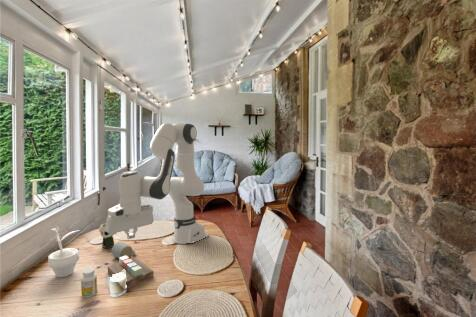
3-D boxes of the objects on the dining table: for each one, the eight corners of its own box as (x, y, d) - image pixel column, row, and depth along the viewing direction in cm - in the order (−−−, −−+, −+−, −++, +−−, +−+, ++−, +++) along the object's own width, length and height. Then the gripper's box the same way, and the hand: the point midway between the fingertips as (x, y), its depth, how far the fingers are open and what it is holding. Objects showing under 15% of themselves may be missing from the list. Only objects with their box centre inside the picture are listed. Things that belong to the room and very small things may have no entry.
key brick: (130, 264, 119) (130, 258, 119) (133, 267, 117) (133, 260, 117) (122, 267, 117) (122, 260, 117) (125, 270, 114) (125, 263, 114)
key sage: (138, 272, 113) (138, 265, 113) (142, 275, 111) (141, 268, 110) (131, 275, 111) (130, 268, 110) (134, 278, 108) (134, 270, 108)
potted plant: (46, 284, 108) (43, 227, 106) (51, 271, 118) (49, 219, 116) (81, 276, 113) (78, 222, 111) (83, 265, 124) (81, 215, 122)
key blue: (134, 268, 116) (134, 261, 116) (137, 271, 114) (137, 264, 113) (126, 271, 114) (126, 264, 113) (130, 274, 111) (129, 267, 111)
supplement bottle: (90, 288, 105) (90, 266, 104) (100, 291, 103) (99, 268, 102) (78, 295, 100) (77, 272, 99) (87, 299, 98) (86, 275, 97)
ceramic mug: (121, 262, 126) (121, 248, 126) (111, 258, 130) (111, 244, 130) (138, 254, 135) (138, 241, 135) (129, 251, 140) (128, 237, 139)
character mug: (95, 248, 142) (94, 226, 141) (104, 243, 149) (103, 221, 148) (112, 250, 140) (111, 227, 139) (120, 245, 147) (120, 223, 146)
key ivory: (126, 261, 122) (126, 255, 122) (129, 264, 120) (129, 257, 120) (119, 264, 120) (118, 257, 120) (121, 266, 118) (121, 260, 117)
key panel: (135, 262, 127) (135, 256, 126) (153, 277, 114) (153, 271, 113) (107, 272, 117) (107, 266, 117) (124, 289, 104) (124, 282, 104)
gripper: (149, 202, 121) (149, 230, 122) (103, 210, 106) (104, 242, 107) (155, 205, 117) (156, 234, 118) (108, 213, 102) (109, 247, 103)
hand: (131, 238), depth 112 cm, fingers closed
